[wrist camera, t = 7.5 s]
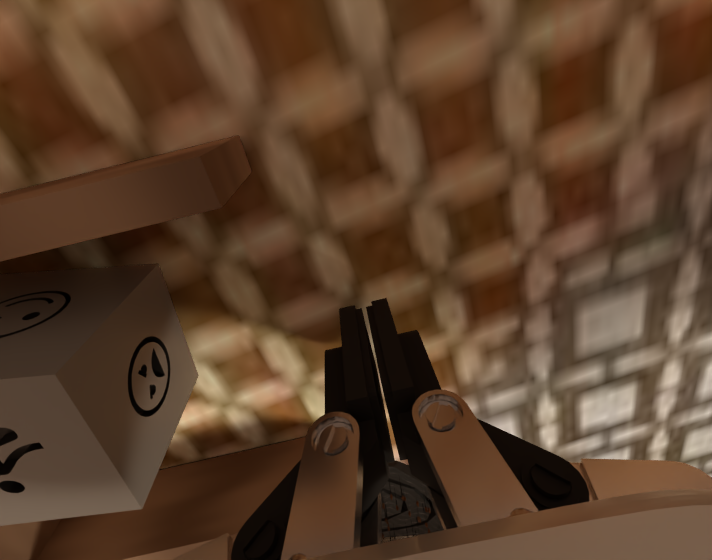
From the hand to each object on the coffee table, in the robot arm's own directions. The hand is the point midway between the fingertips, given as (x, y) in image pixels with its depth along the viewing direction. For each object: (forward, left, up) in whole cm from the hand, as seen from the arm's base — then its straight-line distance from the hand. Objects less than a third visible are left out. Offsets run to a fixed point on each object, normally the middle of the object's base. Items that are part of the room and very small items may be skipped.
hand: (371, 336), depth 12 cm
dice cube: (+9, -2, -1) cm, 9 cm away
